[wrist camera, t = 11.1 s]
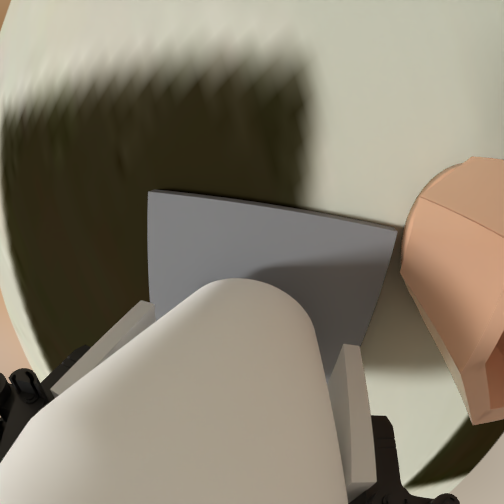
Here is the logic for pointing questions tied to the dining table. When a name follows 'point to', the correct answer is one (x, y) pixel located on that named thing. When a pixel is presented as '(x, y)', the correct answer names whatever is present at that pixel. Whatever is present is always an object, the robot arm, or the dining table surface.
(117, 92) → the dining table surface
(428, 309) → the pot
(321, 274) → the mat
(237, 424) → the cup
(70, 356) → the robot arm
